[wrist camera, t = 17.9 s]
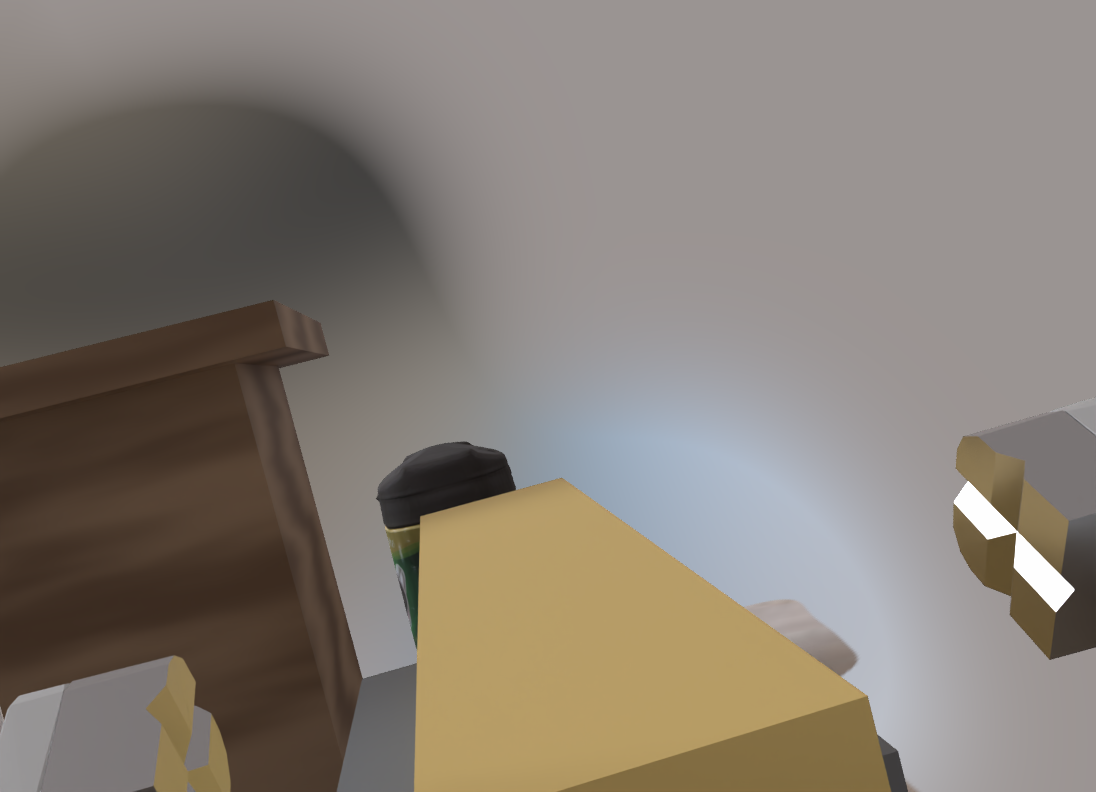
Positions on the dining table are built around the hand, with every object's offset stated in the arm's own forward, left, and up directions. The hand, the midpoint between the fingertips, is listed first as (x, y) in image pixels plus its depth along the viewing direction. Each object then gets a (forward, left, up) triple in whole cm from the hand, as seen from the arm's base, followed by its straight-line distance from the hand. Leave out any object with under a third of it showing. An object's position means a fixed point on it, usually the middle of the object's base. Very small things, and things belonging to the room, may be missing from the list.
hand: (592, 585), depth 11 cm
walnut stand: (+15, +29, -20) cm, 38 cm away
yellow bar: (+8, +6, -5) cm, 11 cm away
